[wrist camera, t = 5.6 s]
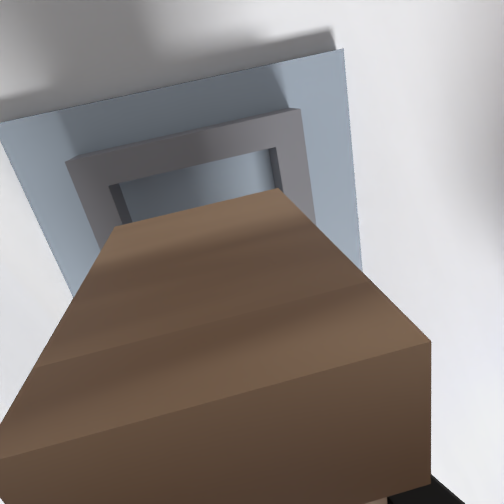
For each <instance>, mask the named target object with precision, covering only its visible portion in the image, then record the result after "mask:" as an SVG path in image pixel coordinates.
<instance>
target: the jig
mask: <svg viewBox="0 0 504 504" xmlns="http://www.w3.org/2000/svg"><path fill="white" fill-rule="evenodd" d="M0 141H1V143H2V145H3V148H4V150H5V152H6V154H7V156H8V158H9V160H10V163H11V165H12V167H13V169H14V171H15V173H16V175H17V178H18V180H19V182H20V184H21V186H22V188H23V191H24V193H25V195H26V197H27V199H28V201H29V203H30V206H31V208H32V210H33V212H34V214H35V216H36V218H37V221H38V223H39V225H40V227H41V229H42V231H43V233H44V236H45V238H46V240H47V242H48V244H49V246H50V249H51V251H52V253H53V255H54V257H55V259H56V261H57V264H58V266H59V268H60V270H61V272H62V274H63V276H64V279H65V281H66V283H67V285H68V287H69V289H70V291H71V294H72V296H73V298H74V296H75V295H76V293H77V291H78V289H79V288H80V286H81V284H82V282H83V281H84V279H85V277H86V276H87V274H88V272H89V270H90V269H91V267H92V265H93V264H94V262H95V260H96V258H97V257H98V255H99V253H100V251H101V250H102V248H103V246H104V245H105V243H106V241H107V239H108V238H109V236H110V234H111V232H112V231H113V229H114V227H116V226H120V225H124V224H128V223H133V222H137V221H141V220H145V219H149V218H154V217H158V216H162V215H166V214H170V213H175V212H179V211H183V210H187V209H191V208H196V207H200V206H204V205H208V204H212V203H217V202H221V201H225V200H229V199H233V198H238V197H242V196H246V195H250V194H254V193H259V192H263V191H267V190H271V189H275V188H279V189H280V190H281V191H282V192H283V193H284V194H285V195H286V196H287V197H288V198H289V199H290V200H291V201H292V202H293V203H294V204H295V205H296V206H297V207H298V208H299V209H300V210H301V211H302V212H303V213H304V214H305V215H306V216H307V217H308V218H309V219H310V220H311V221H312V222H313V223H314V224H315V225H316V226H317V227H318V228H319V229H320V230H321V231H322V232H323V233H324V234H325V235H326V236H327V237H328V238H329V239H330V240H331V241H332V242H333V243H334V244H335V245H336V246H337V247H338V248H339V249H340V250H341V251H342V252H343V253H344V254H345V255H346V256H347V257H348V258H349V259H350V260H351V261H352V262H353V263H354V264H355V265H356V266H357V267H358V268H359V269H360V270H361V271H362V260H361V248H360V236H359V225H358V213H357V201H356V189H355V178H354V166H353V154H352V142H351V131H350V119H349V107H348V95H347V84H346V72H345V60H344V48H343V49H339V50H334V51H329V52H325V53H320V54H315V55H311V56H306V57H302V58H297V59H292V60H288V61H283V62H278V63H274V64H269V65H265V66H260V67H255V68H251V69H246V70H241V71H237V72H232V73H228V74H223V75H218V76H214V77H209V78H204V79H200V80H195V81H191V82H186V83H181V84H177V85H172V86H167V87H163V88H158V89H154V90H149V91H144V92H140V93H135V94H130V95H126V96H121V97H117V98H112V99H107V100H103V101H98V102H93V103H89V104H84V105H80V106H75V107H70V108H66V109H61V110H56V111H52V112H47V113H43V114H38V115H33V116H29V117H24V118H19V119H15V120H10V121H6V122H1V123H0Z"/></svg>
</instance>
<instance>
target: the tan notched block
mask: <svg viewBox="0 0 504 504" xmlns="http://www.w3.org/2000/svg"><path fill="white" fill-rule="evenodd" d="M429 484H431V341H430V340H429V339H428V337H427V336H426V335H425V334H424V333H423V332H422V331H421V330H420V329H419V328H418V327H417V326H416V325H415V324H414V323H413V322H412V321H411V320H410V319H409V318H408V317H407V316H406V315H405V314H404V313H403V312H402V311H401V310H400V309H399V308H398V307H397V306H396V305H395V304H394V303H393V302H392V301H391V300H390V299H389V298H388V297H387V296H386V295H385V294H384V293H383V292H382V291H381V290H380V289H379V288H378V287H377V286H376V285H375V284H374V283H373V282H372V281H371V280H370V279H369V278H368V277H367V276H366V275H365V274H364V273H363V272H362V271H361V270H360V269H359V268H358V267H357V266H356V265H355V264H354V263H353V262H352V261H351V260H350V259H349V258H348V257H347V256H346V255H345V254H344V253H343V252H342V251H341V250H340V249H339V248H338V247H337V246H336V245H335V244H334V243H333V242H332V241H331V240H330V239H329V238H328V237H327V236H326V235H325V234H324V233H323V232H322V231H321V230H320V229H319V228H318V227H317V226H316V225H315V224H314V223H313V222H312V221H311V220H310V219H309V218H308V217H307V216H306V215H305V214H304V213H303V212H302V211H301V210H300V209H299V208H298V207H297V206H296V205H295V204H294V203H293V202H292V201H291V200H290V199H289V198H288V197H287V196H286V195H285V194H284V193H283V192H282V191H281V190H280V189H279V188H275V189H271V190H267V191H263V192H259V193H254V194H250V195H246V196H242V197H238V198H233V199H229V200H225V201H221V202H217V203H212V204H208V205H204V206H200V207H196V208H191V209H187V210H183V211H179V212H175V213H170V214H166V215H162V216H158V217H154V218H149V219H145V220H141V221H137V222H133V223H128V224H124V225H120V226H116V227H114V229H113V231H112V232H111V234H110V236H109V238H108V239H107V241H106V243H105V245H104V246H103V248H102V250H101V251H100V253H99V255H98V257H97V258H96V260H95V262H94V264H93V265H92V267H91V269H90V270H89V272H88V274H87V276H86V277H85V279H84V281H83V282H82V284H81V286H80V288H79V289H78V291H77V293H76V295H75V296H74V298H73V300H72V301H71V303H70V305H69V307H68V308H67V310H66V312H65V314H64V315H63V317H62V319H61V320H60V322H59V324H58V326H57V327H56V329H55V331H54V333H53V334H52V336H51V338H50V339H49V341H48V343H47V345H46V346H45V348H44V350H43V351H42V353H41V355H40V357H39V358H38V360H37V362H36V364H35V365H34V367H33V369H32V370H31V372H30V374H29V376H28V377H27V379H26V381H25V383H24V384H23V386H22V388H21V389H20V391H19V393H18V395H17V396H16V398H15V400H14V402H13V403H12V405H11V407H10V408H9V410H8V412H7V414H6V415H5V417H4V419H3V421H2V422H1V424H0V498H1V499H2V501H3V502H4V503H5V504H387V497H389V496H392V495H395V494H399V493H402V492H405V491H409V490H412V489H415V488H419V487H422V486H425V485H429Z"/></svg>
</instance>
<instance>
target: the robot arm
mask: <svg viewBox="0 0 504 504" xmlns="http://www.w3.org/2000/svg"><path fill="white" fill-rule="evenodd" d="M387 504H465V503H464V502H463V501H462V500H460V499H459V498H458V497H457V496H456V495H454V494H453V493H452V492H451V491H450V490H449V489H447V488H446V487H445V486H444V485H443V484H442V483H440V482H439V481H438V480H437V479H436V478H435V477H434V476H433V475H432V474H431V484H429V485H425V486H422V487H419V488H415V489H412V490H409V491H405V492H402V493H399V494H395V495H392V496H389V497H387Z"/></svg>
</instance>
